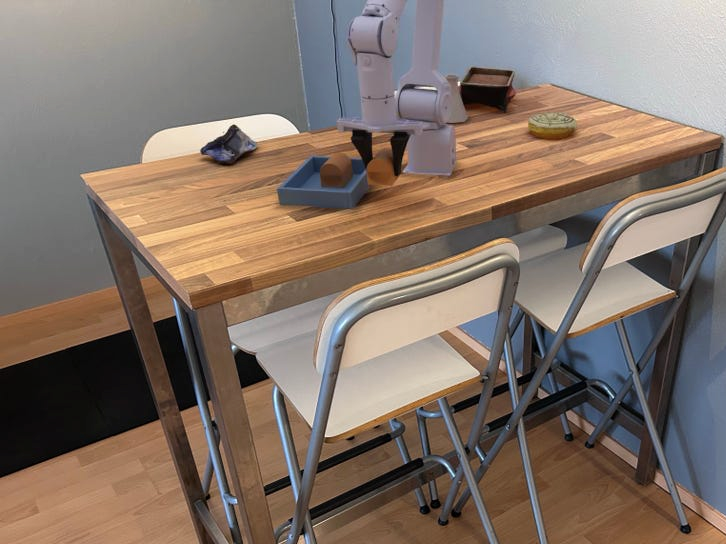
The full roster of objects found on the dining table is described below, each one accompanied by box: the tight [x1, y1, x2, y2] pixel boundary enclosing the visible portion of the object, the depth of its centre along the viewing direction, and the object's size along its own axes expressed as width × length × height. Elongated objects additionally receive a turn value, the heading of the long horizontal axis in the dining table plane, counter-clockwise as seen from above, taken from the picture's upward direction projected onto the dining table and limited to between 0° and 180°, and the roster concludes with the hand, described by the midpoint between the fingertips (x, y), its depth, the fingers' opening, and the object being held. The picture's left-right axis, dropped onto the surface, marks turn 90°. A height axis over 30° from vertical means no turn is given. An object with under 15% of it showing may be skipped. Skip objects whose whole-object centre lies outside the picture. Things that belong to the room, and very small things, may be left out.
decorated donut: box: [527, 112, 578, 140], centre depth 164 cm, size 10×11×4 cm
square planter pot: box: [458, 66, 517, 113], centre depth 182 cm, size 14×18×10 cm
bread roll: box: [367, 147, 402, 187], centre depth 130 cm, size 4×6×5 cm
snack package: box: [199, 123, 259, 165], centre depth 153 cm, size 12×6×12 cm
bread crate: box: [276, 155, 372, 210], centre depth 137 cm, size 14×17×4 cm
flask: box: [444, 73, 469, 124], centre depth 172 cm, size 7×7×10 cm
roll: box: [320, 152, 353, 188], centre depth 140 cm, size 4×6×5 cm
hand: (383, 173), depth 131 cm, fingers closed on bread roll, 4 cm apart
